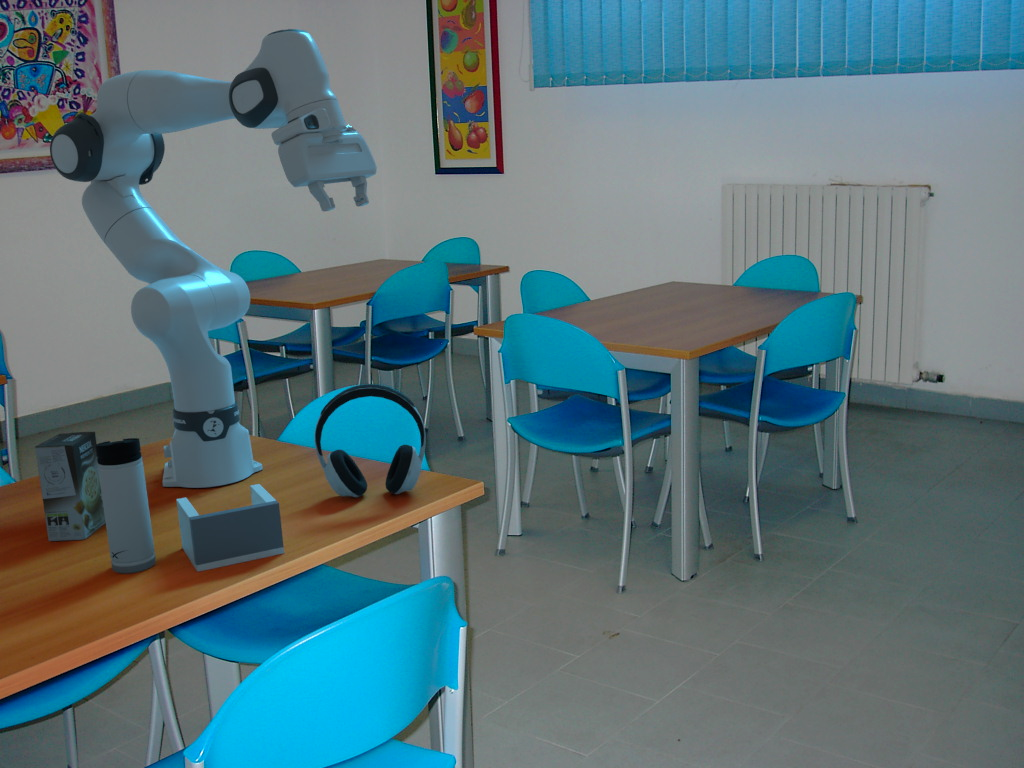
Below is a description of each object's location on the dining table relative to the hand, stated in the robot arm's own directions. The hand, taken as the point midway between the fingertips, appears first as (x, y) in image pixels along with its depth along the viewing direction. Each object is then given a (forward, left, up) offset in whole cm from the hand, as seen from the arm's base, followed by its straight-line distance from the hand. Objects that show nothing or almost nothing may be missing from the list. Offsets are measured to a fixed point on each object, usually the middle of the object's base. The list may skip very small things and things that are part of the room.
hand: (346, 207), depth 178 cm
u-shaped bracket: (+10, -26, -50) cm, 58 cm away
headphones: (-3, +2, -51) cm, 51 cm away
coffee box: (-15, -46, -51) cm, 70 cm away
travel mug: (+8, -41, -51) cm, 65 cm away
